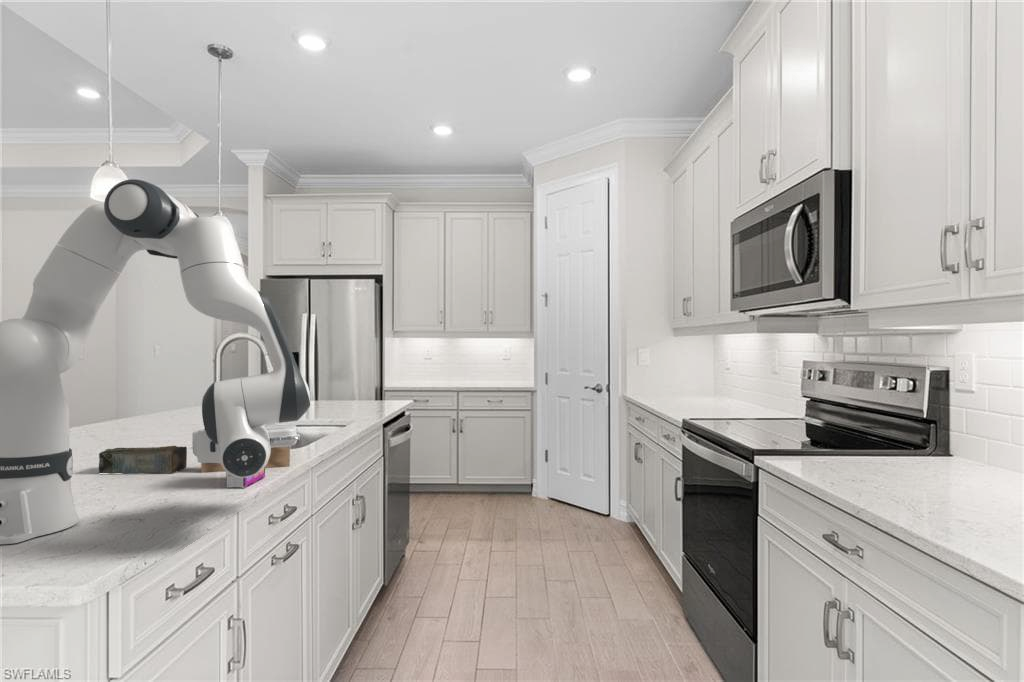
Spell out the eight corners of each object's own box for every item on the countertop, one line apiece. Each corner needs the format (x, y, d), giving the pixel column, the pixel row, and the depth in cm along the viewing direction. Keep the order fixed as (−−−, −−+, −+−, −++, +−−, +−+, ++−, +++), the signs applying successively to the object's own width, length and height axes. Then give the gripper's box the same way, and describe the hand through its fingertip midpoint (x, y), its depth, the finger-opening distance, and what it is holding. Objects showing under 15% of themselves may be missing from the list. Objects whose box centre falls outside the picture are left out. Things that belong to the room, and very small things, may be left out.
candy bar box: (246, 477, 150) (247, 413, 150) (265, 477, 149) (266, 414, 149) (223, 488, 138) (224, 419, 138) (244, 488, 138) (245, 420, 138)
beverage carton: (116, 468, 159) (116, 444, 159) (188, 468, 161) (188, 444, 161) (97, 475, 151) (97, 450, 151) (174, 475, 153) (174, 450, 153)
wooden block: (201, 472, 154) (201, 446, 154) (202, 469, 158) (202, 443, 158) (289, 466, 163) (289, 441, 163) (288, 463, 167) (289, 439, 167)
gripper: (300, 423, 120) (296, 415, 133) (188, 431, 112) (195, 421, 124) (301, 453, 120) (297, 442, 133) (188, 463, 112) (195, 451, 124)
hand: (246, 432), depth 128 cm, fingers closed
